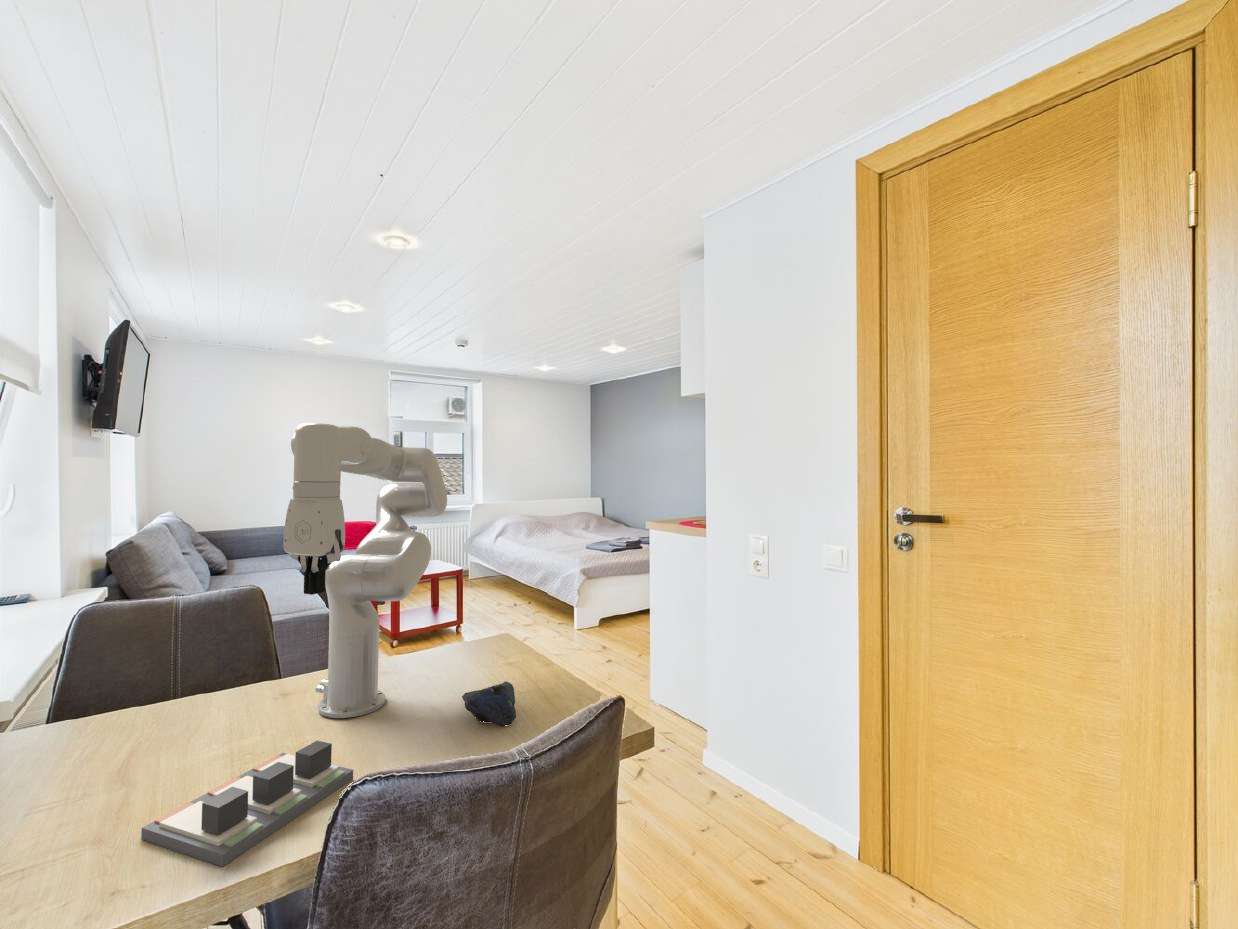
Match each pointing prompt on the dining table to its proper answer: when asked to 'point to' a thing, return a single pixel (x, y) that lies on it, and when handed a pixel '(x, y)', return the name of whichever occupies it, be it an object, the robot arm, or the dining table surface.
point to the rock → (492, 704)
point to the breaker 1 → (224, 810)
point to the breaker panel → (263, 820)
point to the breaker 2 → (313, 759)
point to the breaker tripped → (272, 783)
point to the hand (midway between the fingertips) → (314, 592)
